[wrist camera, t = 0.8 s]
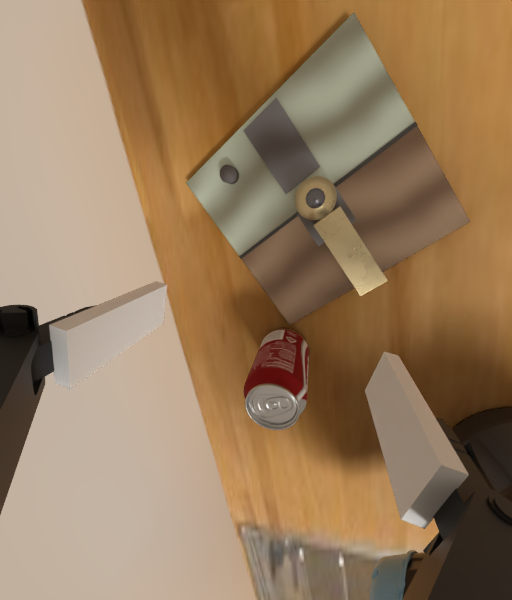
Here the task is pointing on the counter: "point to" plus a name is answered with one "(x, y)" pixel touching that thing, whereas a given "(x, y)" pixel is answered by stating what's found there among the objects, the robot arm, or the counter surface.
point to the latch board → (327, 175)
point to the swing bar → (338, 233)
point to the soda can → (278, 380)
